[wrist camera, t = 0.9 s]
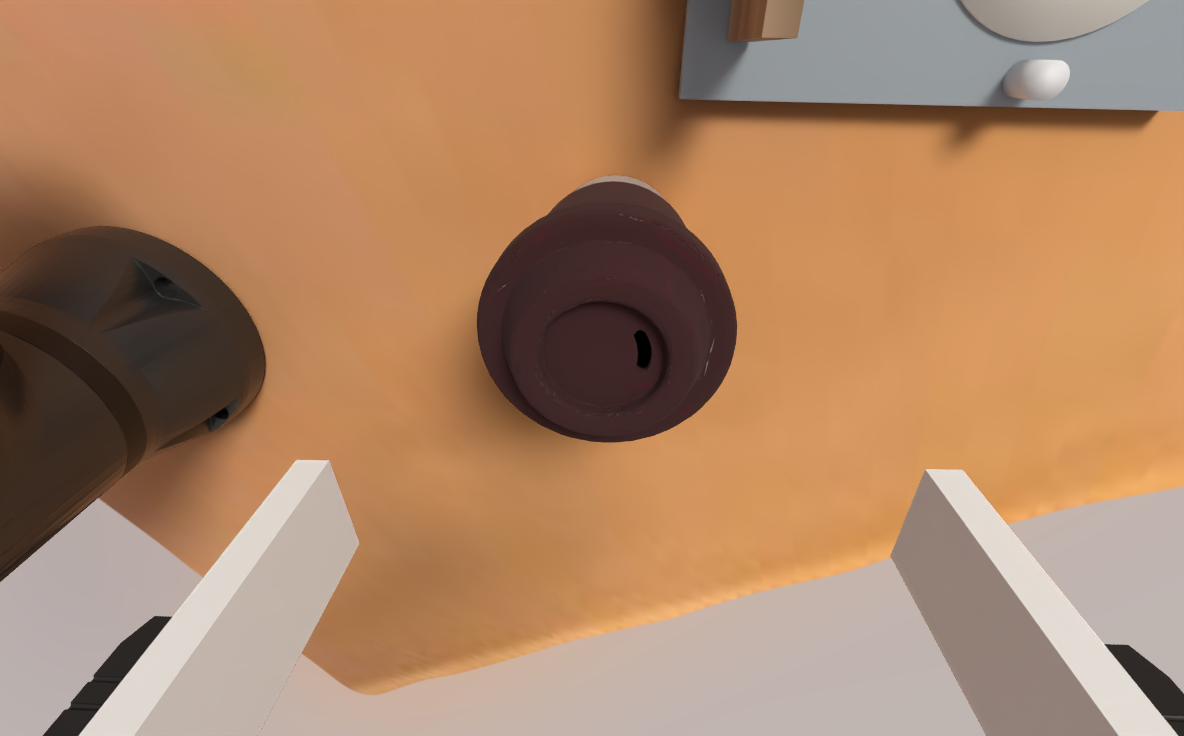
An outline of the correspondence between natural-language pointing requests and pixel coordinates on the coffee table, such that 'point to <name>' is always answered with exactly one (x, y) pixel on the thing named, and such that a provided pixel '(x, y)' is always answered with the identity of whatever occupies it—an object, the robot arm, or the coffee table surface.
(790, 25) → the panel
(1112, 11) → the grey flat slab
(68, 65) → the coffee table surface
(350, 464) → the coffee table surface
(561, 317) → the coffee cup
